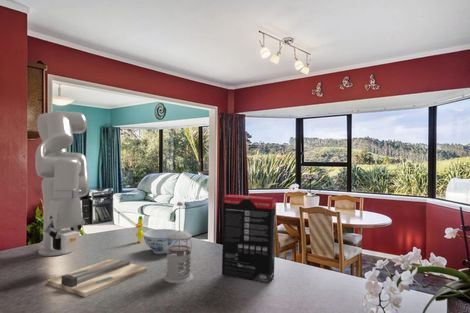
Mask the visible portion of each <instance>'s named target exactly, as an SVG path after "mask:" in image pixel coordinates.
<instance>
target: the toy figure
mask: <svg viewBox="0 0 470 313" xmlns="http://www.w3.org/2000/svg"><path fill="white" fill-rule="evenodd" d="M143 222H144V219H143V215H142V216H141V215H139V216H138V218H137V223H136V224H135V227H136V228H138V231H137V232H136V234H135V236H136V238H137V239H138V240H137V242H136V243H137V244H141V243H142V242H143V241H142V239H143V238H144V233H145V232H144V231H143V225H144V223H143Z"/></svg>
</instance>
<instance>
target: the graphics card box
mask: <svg viewBox="0 0 470 313" xmlns="http://www.w3.org/2000/svg"><path fill="white" fill-rule="evenodd" d="M222 209H223V214H222V215H223V216H222V220H223V222H222V252H221V253H222V254H221V262H222V263H221V276H223V277H230V278H233V279H234V278H235V279H239V280H240V279H242V280H246V281H251V282H252V281H253V282H258V283H264V284H270V283H271V282H272V280H273V279H274V277H275V252H276V251H275V249H276V219H277V218H276V215H277V214H276V210H277V198H276V197H270V196H269V197H268V196H258V195H257V196H255V195H242V194H226V195H224V196H223V208H222Z"/></svg>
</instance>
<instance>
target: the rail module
mask: <svg viewBox="0 0 470 313" xmlns="http://www.w3.org/2000/svg"><path fill="white" fill-rule="evenodd" d="M59 238H61V248H63V249H62V253H67V254H69V252H70V253H72V252H76V251H78V250H80V231H79V232H76V231H72V230H69V229H61V233H60V236H59ZM51 249H52V250H55V249H53V238H52V237H51Z"/></svg>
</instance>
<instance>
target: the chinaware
mask: <svg viewBox="0 0 470 313" xmlns="http://www.w3.org/2000/svg"><path fill="white" fill-rule="evenodd" d="M175 231H178V230H176V229H171V228H170V229H169V228H158V229H157V228H156V229H150V230H147V231H145V232H143V233H144V236H143V238H144V242H145V244H146V245H147V247H148V248H149V249H151V250H152V251H153V253H154V254H157V255H158V254H159V255H161V254H162V255H164V254H167V252H169V250H168V248H169V247H171V246H174V245H176V246H177V244H178V243H179V240H170V239H168V238H167V235H169V234H170V233H172V232H175Z"/></svg>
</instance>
